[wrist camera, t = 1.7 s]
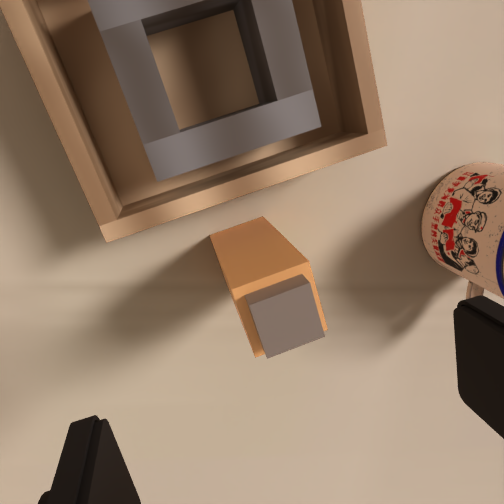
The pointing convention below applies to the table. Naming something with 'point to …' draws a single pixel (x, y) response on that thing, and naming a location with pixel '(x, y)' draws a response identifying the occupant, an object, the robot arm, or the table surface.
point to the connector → (269, 287)
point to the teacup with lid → (469, 226)
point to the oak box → (197, 96)
